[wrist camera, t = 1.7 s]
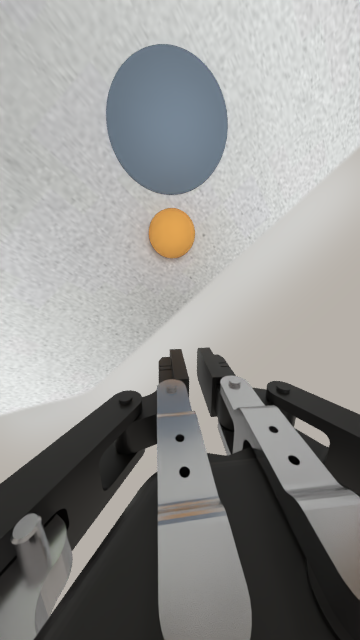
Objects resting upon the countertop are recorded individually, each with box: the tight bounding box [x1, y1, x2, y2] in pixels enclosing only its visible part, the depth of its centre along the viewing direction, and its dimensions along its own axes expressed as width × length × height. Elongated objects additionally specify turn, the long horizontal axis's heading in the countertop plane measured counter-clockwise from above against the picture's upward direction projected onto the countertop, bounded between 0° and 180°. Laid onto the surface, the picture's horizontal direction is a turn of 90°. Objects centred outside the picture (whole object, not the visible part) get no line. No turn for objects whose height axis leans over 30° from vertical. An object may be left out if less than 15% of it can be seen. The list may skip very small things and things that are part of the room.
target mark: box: [106, 44, 228, 195], centre depth 23 cm, size 14×14×1 cm
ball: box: [149, 208, 195, 258], centre depth 24 cm, size 6×6×6 cm
